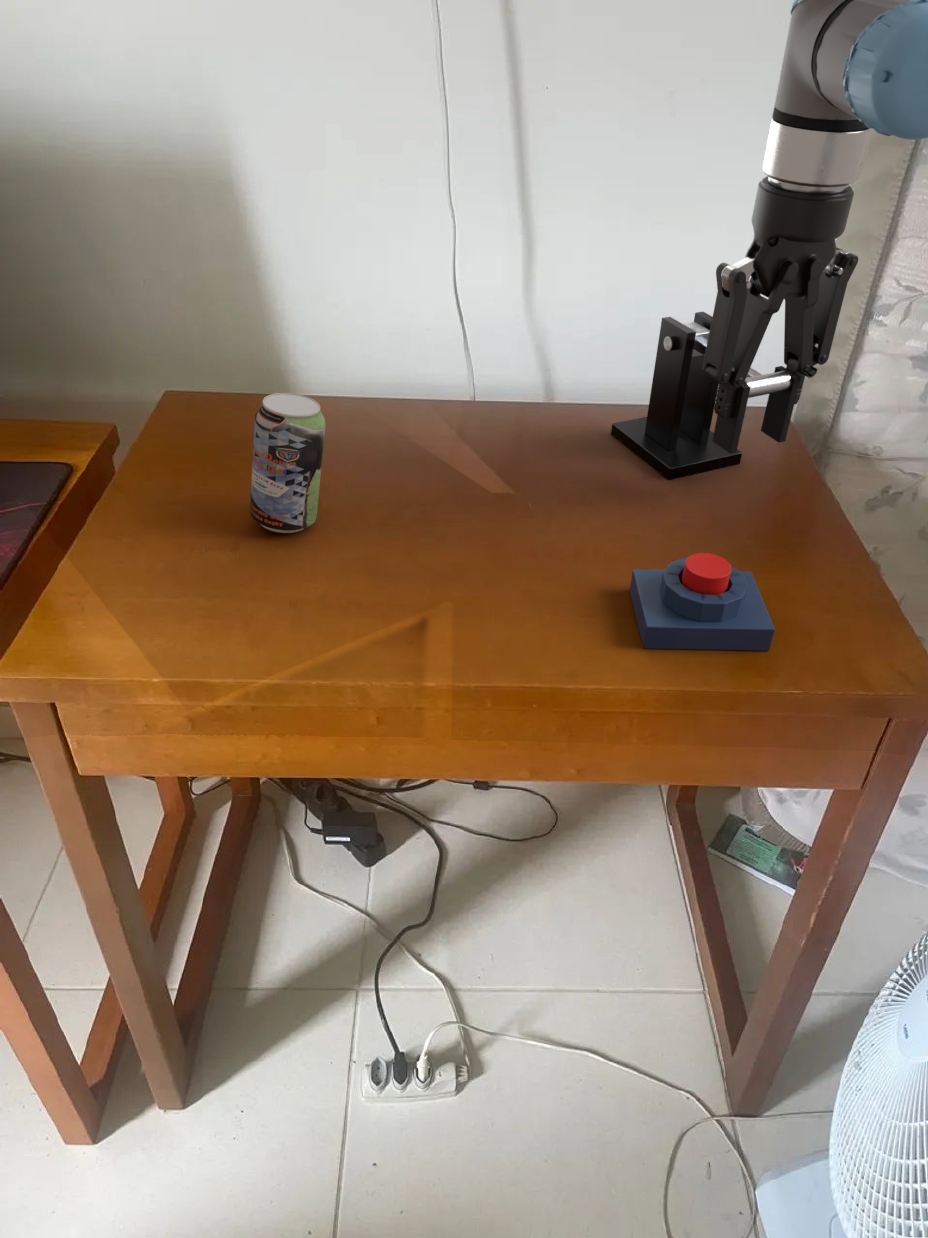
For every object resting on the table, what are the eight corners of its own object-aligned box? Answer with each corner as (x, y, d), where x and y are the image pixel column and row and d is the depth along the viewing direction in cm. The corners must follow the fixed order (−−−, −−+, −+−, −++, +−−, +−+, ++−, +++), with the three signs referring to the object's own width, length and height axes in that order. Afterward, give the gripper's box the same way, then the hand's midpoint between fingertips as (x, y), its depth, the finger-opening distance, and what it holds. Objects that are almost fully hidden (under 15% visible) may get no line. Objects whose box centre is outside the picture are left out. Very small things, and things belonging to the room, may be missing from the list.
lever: (788, 396, 91) (794, 372, 89) (744, 405, 89) (750, 380, 87) (702, 342, 100) (707, 319, 98) (661, 349, 98) (665, 325, 97)
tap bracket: (740, 463, 102) (768, 335, 94) (668, 480, 99) (691, 348, 91) (678, 420, 110) (700, 298, 102) (610, 434, 107) (626, 309, 99)
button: (722, 571, 80) (726, 553, 79) (731, 597, 77) (736, 578, 76) (677, 570, 80) (681, 552, 79) (686, 596, 77) (689, 577, 76)
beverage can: (240, 519, 91) (224, 398, 84) (309, 496, 95) (300, 379, 87) (272, 550, 87) (259, 425, 80) (343, 524, 91) (337, 404, 83)
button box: (746, 592, 84) (755, 553, 81) (769, 651, 77) (780, 610, 75) (629, 589, 84) (635, 550, 81) (643, 649, 77) (650, 608, 75)
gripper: (859, 161, 85) (797, 409, 99) (687, 178, 79) (647, 440, 93) (925, 182, 80) (849, 441, 94) (746, 202, 73) (693, 476, 88)
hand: (748, 440), depth 93 cm, fingers closed on lever, 5 cm apart
